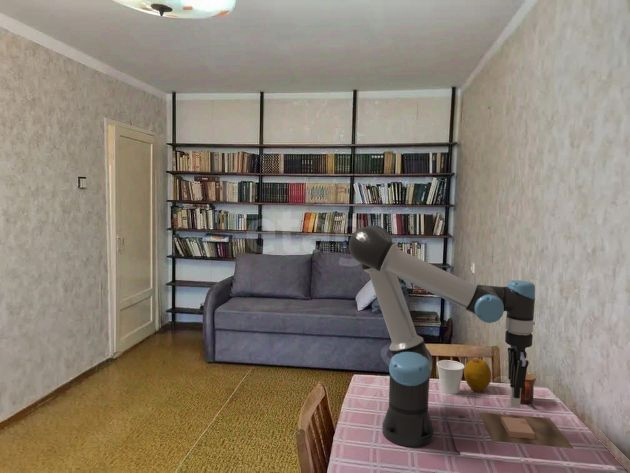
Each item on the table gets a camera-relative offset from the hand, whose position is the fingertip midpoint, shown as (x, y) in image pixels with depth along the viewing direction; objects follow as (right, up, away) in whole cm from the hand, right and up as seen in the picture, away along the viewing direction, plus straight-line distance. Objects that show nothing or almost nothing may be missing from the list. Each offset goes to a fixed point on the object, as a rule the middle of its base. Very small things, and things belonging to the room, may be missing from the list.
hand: (514, 406), depth 135 cm
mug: (+11, -7, +18) cm, 22 cm away
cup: (-12, -6, +26) cm, 30 cm away
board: (+2, -8, -1) cm, 8 cm away
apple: (0, -6, +31) cm, 31 cm away
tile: (0, -5, +2) cm, 6 cm away
